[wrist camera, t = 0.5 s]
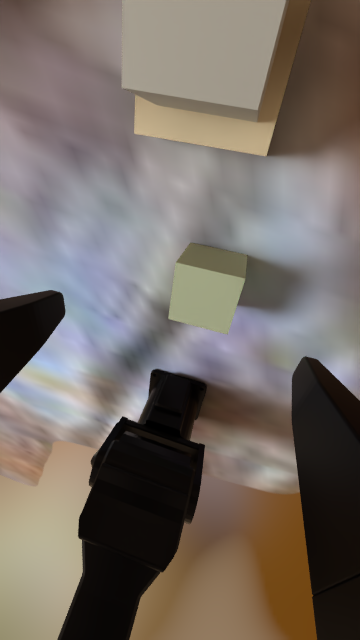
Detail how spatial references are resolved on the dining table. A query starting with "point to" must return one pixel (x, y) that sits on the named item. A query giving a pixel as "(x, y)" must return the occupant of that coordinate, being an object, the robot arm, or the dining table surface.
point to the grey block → (201, 53)
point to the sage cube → (207, 287)
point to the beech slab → (226, 129)
